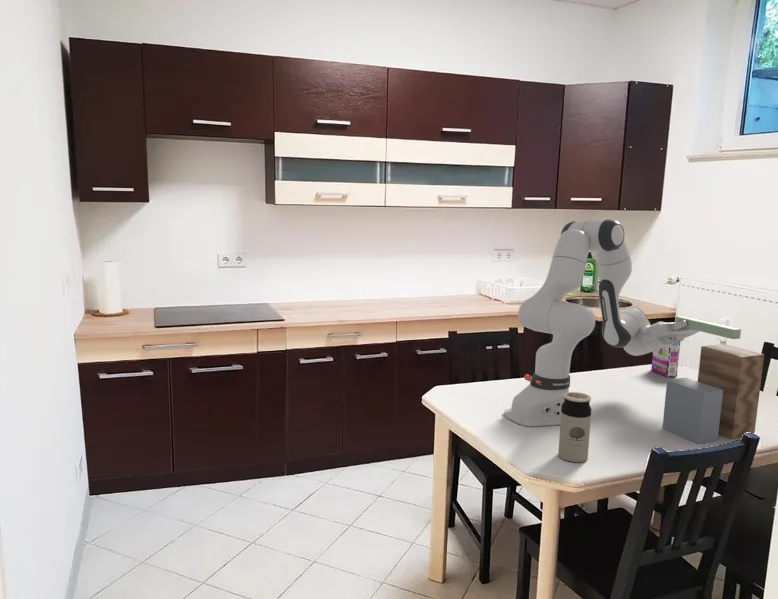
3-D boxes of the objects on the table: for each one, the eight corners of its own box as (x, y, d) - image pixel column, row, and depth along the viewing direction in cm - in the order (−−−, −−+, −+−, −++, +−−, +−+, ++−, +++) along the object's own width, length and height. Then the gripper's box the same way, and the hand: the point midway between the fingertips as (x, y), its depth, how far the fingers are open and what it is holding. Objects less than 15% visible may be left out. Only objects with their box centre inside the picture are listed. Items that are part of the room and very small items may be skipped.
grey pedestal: (698, 444, 177) (704, 392, 175) (662, 428, 190) (667, 380, 187) (717, 440, 180) (723, 390, 178) (680, 424, 193) (685, 377, 190)
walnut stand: (731, 439, 181) (741, 357, 177) (693, 423, 194) (701, 346, 190) (754, 434, 185) (764, 354, 181) (714, 419, 198) (723, 344, 194)
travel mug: (559, 449, 172) (563, 390, 169) (588, 454, 169) (593, 393, 166) (556, 460, 165) (560, 398, 162) (586, 465, 162) (591, 402, 159)
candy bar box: (677, 377, 246) (681, 338, 244) (666, 377, 246) (670, 339, 243) (660, 369, 257) (664, 332, 255) (650, 369, 256) (653, 333, 254)
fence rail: (733, 339, 183) (734, 329, 183) (674, 325, 203) (675, 316, 203) (740, 338, 184) (741, 329, 184) (681, 324, 204) (682, 316, 204)
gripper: (636, 328, 208) (665, 315, 196) (679, 324, 216) (709, 311, 203) (641, 345, 206) (671, 333, 194) (684, 340, 214) (716, 329, 202)
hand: (691, 322), depth 199 cm, fingers closed on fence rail, 3 cm apart
